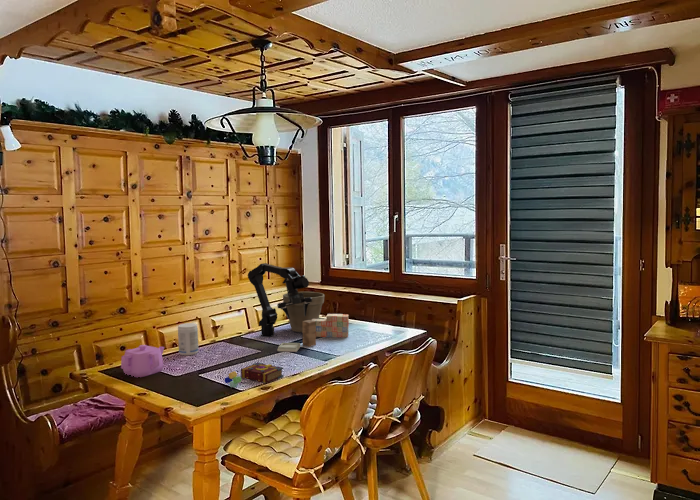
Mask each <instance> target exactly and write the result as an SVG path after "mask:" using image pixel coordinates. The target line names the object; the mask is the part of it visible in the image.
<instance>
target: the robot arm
mask: <svg viewBox="0 0 700 500" xmlns="http://www.w3.org/2000/svg"><path fill="white" fill-rule="evenodd" d="M267 272H268V273H272V274H275V275H278V276H279V277H281V278H283V281H282V284H285V287H286V291H287V293H288V298H289V302H287V303H285V302H283V301H282V302H278V303H277V309H280V310H282V311H283V312H284V314H285V316H286V317H287V319H288V321H289V320H290V317H289V314H288V310H287V308H286V306H288V305H293V304H298V303H303V302H304V304H303V307H304V314H305V316H306V312H307V307H308V304H310V303H309V302H312V298H311V297H306V298H304V296H303V293H300V294H298V292H299V290H301V289H307V288H308V287H309V286H310V283H309V279H308V278H307V277H306V275H304V274H303V275H300V274H299V273H298V272H297V271H296V269H295V268H294V267H290V266H289V267H282V266H277V265H274V264H269V263H267V262H265V263H264V262H263V263H260V264H258V265H257V266H256V267H255V268H252V270H249V271H248V273H247V278H248V281H249V282H250V284H252V286H253V287H254V288H255V292H256V295H257V297H258V301H259V304H260V307H261V319H260V320H259V321H258V325H259V327H260V328H261V335H260V337H265V338H266V337H273V336H274V335H275V327H274V325H276V323H277V320H278V313H277V309H276V308H273V307H272V305H271V303H270V301H269V298H268V295H267V292H266V289H265V286H264V284H263V283H264V275H265V274H266V273H267ZM291 302H292V303H291Z"/></svg>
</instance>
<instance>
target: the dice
mask: <svg viewBox="0 0 700 500" xmlns="http://www.w3.org/2000/svg"><path fill="white" fill-rule="evenodd" d="M241 382H242V378H241V375H240V376H239V375H238V373H237V372H236V371H231V372H230V373H228V376H226V377H225V378H224V383H225V384H229V387H230V388H232V387H234V388H237V387H238V384H239V383H241ZM236 386H237V387H236Z"/></svg>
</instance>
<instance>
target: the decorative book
mask: <svg viewBox="0 0 700 500" xmlns="http://www.w3.org/2000/svg"><path fill="white" fill-rule="evenodd" d="M283 370H284V367H283V366H274V365H272V364H270V363H269V364H266V363H264V362H254V363H252V364H251V365H248V366H245V367H242V368H240V377H241V379H245V380H246V379H250V380H249V381H256V382H257V381H258V382H257V383H260V382H262V383H264V384H269V383H271V382H273V381H276V380H279V379H283V378H284V375H283V372H282V371H283Z"/></svg>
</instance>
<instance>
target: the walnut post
mask: <svg viewBox="0 0 700 500" xmlns="http://www.w3.org/2000/svg"><path fill="white" fill-rule="evenodd" d="M316 345H317V337H316V321H312V320H306V321H303V332H302V346H305V347H313V346H316Z"/></svg>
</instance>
